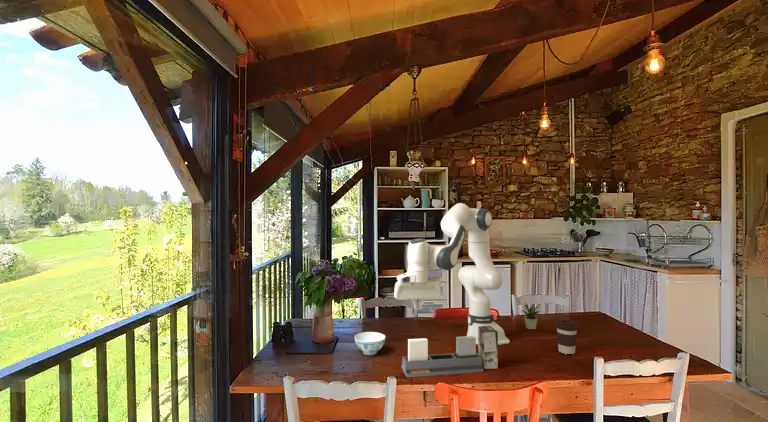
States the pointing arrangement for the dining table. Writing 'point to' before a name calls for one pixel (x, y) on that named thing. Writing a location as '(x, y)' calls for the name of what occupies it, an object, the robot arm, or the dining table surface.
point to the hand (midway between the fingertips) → (417, 309)
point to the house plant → (531, 316)
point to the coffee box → (488, 346)
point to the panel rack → (447, 361)
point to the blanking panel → (417, 349)
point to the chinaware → (369, 342)
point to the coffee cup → (566, 336)
